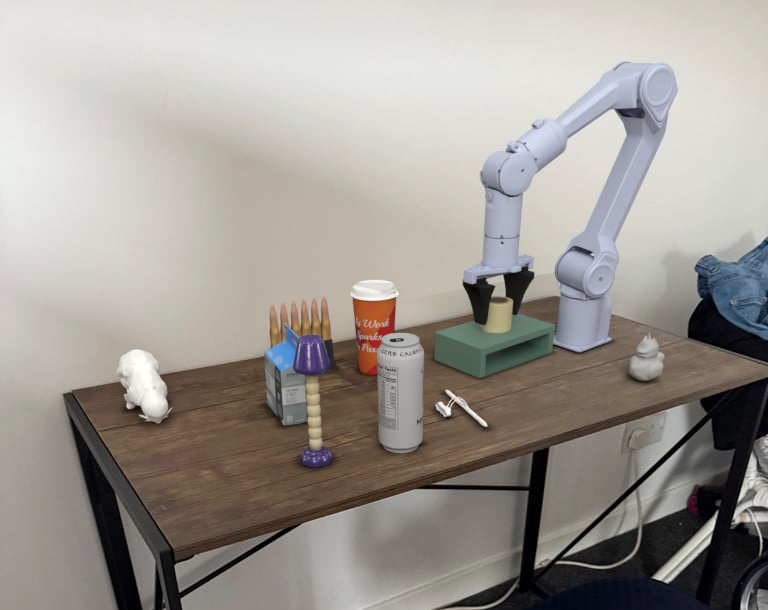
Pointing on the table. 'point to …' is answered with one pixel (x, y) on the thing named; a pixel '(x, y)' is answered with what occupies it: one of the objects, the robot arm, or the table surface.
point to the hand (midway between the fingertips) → (496, 318)
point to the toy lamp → (313, 395)
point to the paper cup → (373, 319)
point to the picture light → (446, 410)
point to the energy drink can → (400, 392)
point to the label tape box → (285, 382)
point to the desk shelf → (493, 345)
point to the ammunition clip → (303, 325)
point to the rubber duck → (646, 360)
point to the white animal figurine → (143, 384)
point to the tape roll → (499, 315)
